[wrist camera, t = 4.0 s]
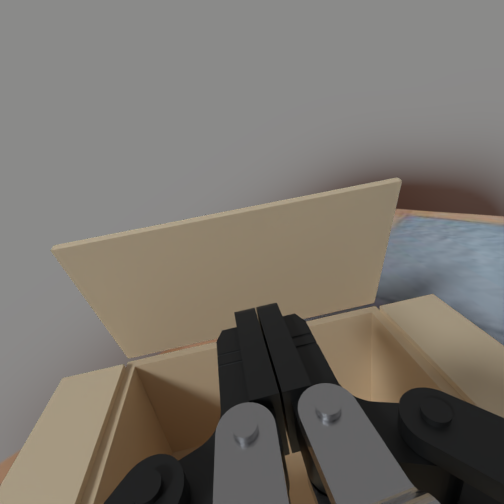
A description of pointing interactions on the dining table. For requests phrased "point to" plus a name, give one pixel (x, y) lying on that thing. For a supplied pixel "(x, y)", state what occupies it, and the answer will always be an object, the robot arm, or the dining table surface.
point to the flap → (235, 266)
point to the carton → (208, 398)
